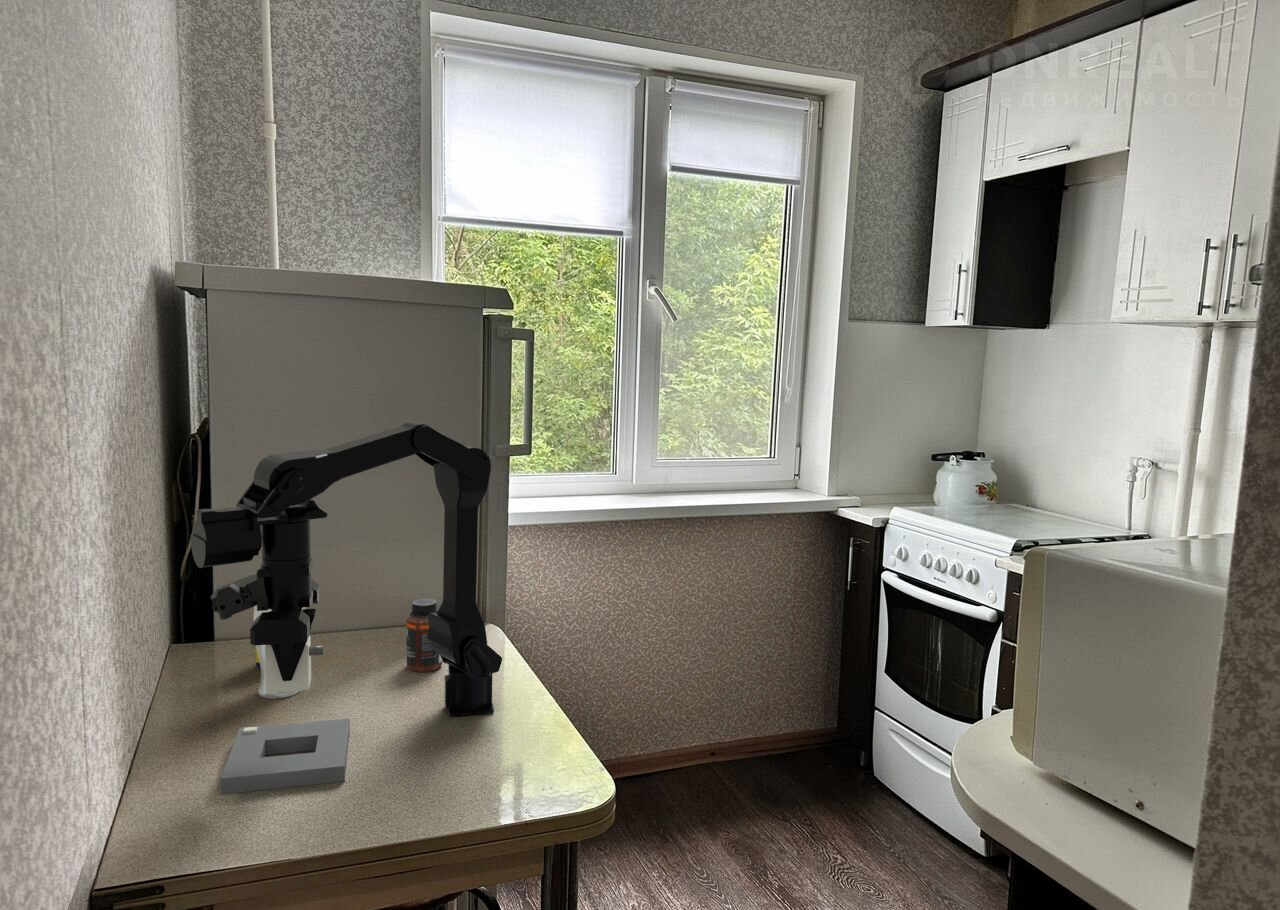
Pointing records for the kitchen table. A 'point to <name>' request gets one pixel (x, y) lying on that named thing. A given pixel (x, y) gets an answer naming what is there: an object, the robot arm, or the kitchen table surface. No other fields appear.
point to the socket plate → (287, 756)
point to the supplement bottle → (421, 637)
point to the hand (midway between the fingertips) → (289, 674)
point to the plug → (301, 674)
